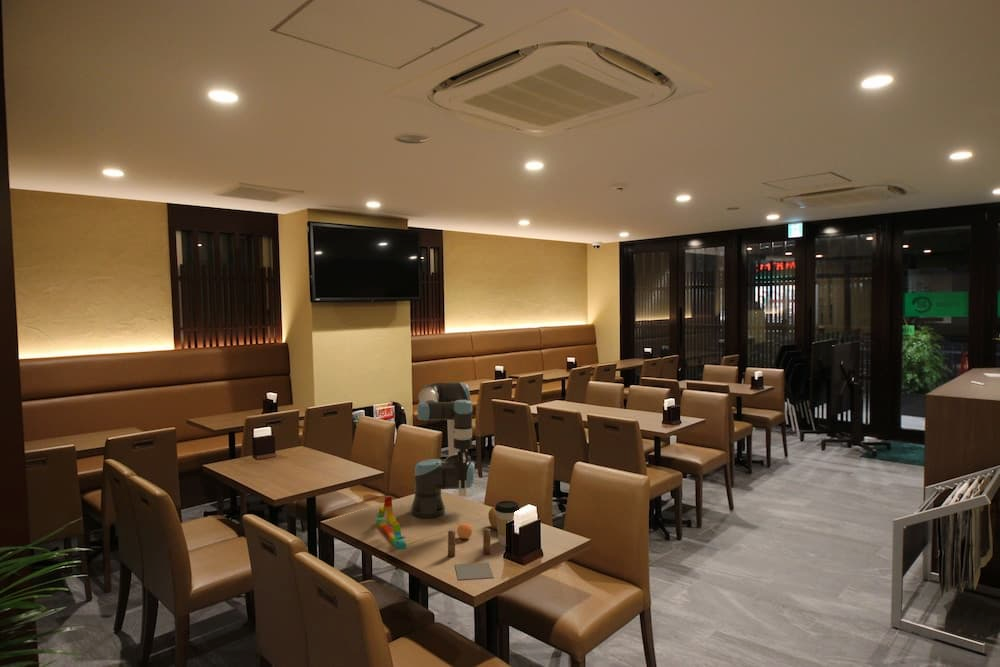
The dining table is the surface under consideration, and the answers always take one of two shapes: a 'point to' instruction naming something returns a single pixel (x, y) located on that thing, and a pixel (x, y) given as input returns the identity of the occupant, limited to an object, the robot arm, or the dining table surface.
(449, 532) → the post
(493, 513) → the potato
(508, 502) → the coffee cup
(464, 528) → the ball
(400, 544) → the colorful toy block stack
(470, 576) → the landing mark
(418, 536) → the dining table surface
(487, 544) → the post
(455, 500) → the dining table surface
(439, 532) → the dining table surface
